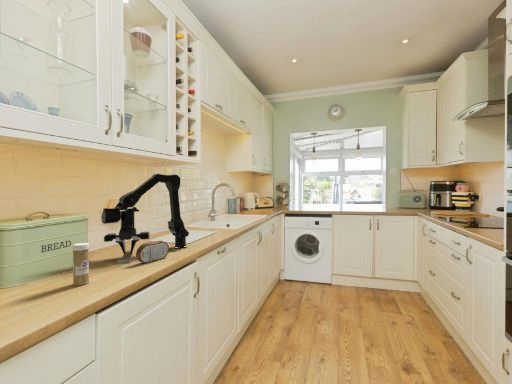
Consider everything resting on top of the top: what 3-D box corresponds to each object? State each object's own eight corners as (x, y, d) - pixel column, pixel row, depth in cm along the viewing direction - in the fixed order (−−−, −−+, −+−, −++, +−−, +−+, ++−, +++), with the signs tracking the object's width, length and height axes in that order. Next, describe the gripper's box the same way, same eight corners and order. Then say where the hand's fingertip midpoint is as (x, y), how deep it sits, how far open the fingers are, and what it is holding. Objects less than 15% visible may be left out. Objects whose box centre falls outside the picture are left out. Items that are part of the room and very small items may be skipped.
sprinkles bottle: (81, 286, 82) (81, 245, 82) (69, 285, 82) (68, 245, 82) (92, 281, 86) (92, 242, 86) (80, 280, 87) (80, 242, 87)
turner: (124, 254, 123) (124, 250, 122) (135, 253, 124) (135, 249, 124) (117, 263, 107) (117, 259, 107) (130, 262, 109) (130, 258, 109)
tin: (165, 256, 119) (165, 238, 119) (170, 257, 117) (170, 239, 117) (135, 264, 106) (135, 244, 106) (139, 265, 105) (139, 245, 105)
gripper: (100, 224, 108) (100, 261, 108) (147, 222, 114) (147, 257, 114) (106, 221, 118) (107, 254, 119) (149, 220, 124) (150, 251, 124)
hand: (128, 254), depth 119 cm, fingers closed on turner, 2 cm apart
